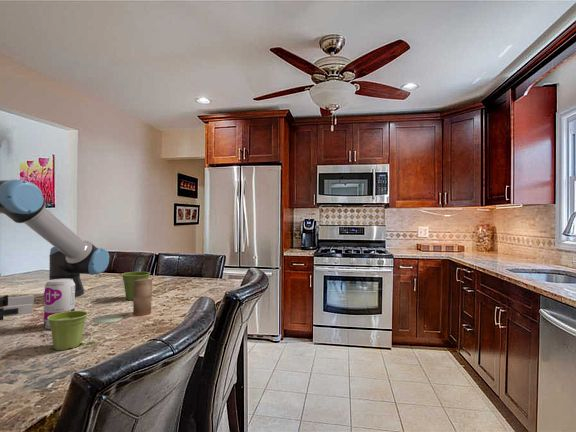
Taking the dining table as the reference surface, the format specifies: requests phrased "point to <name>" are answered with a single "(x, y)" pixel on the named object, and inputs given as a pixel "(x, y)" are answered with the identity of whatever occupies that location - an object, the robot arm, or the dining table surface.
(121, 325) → the dining table surface
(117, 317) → the board
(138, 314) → the walnut canister
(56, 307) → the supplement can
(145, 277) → the plant pot
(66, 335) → the plant pot
